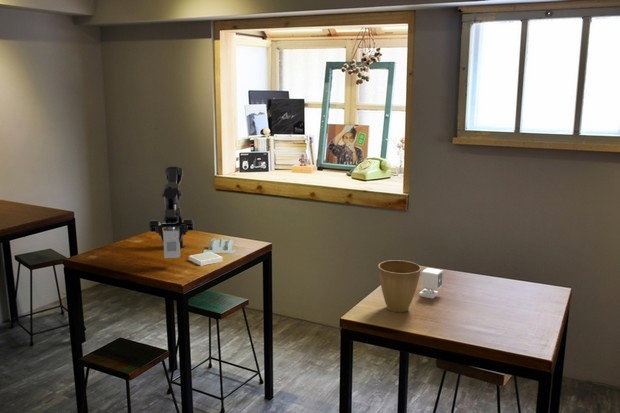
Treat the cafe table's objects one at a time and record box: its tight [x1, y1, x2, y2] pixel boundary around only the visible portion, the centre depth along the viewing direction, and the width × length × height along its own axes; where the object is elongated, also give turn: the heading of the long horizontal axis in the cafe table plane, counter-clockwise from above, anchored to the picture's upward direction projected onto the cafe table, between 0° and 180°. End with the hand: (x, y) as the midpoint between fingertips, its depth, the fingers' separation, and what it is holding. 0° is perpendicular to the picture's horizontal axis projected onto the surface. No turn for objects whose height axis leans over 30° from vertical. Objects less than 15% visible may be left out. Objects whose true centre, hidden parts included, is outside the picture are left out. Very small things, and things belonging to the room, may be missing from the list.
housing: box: [162, 226, 181, 259], centre depth 265 cm, size 5×6×13 cm
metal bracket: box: [202, 237, 236, 254], centre depth 295 cm, size 14×6×15 cm
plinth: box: [188, 252, 224, 267], centre depth 277 cm, size 11×11×2 cm
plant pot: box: [377, 259, 422, 313], centre depth 218 cm, size 15×15×16 cm
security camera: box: [418, 267, 444, 299], centre depth 232 cm, size 6×7×10 cm
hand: (171, 242), depth 264 cm, fingers closed on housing, 6 cm apart
